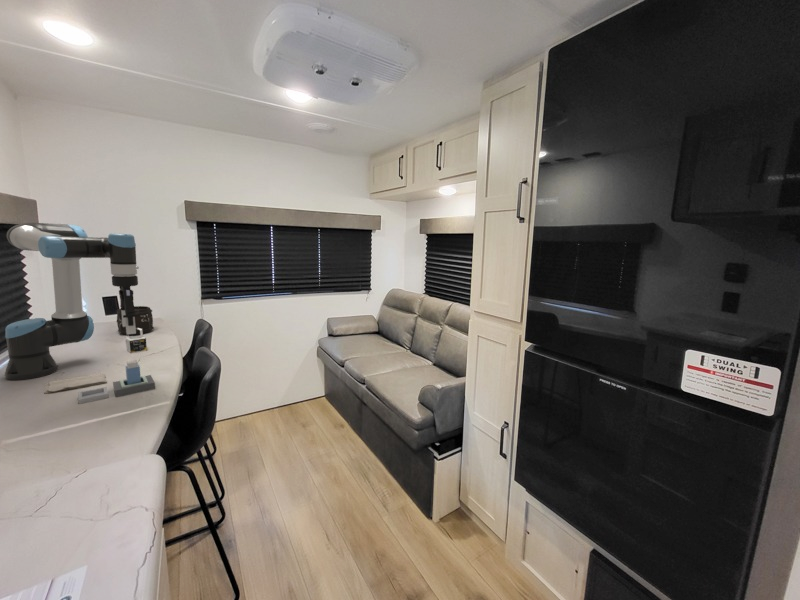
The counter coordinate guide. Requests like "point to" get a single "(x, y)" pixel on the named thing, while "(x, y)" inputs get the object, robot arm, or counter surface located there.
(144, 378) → the port block
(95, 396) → the grey square tray
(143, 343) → the medicine bottle
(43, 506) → the counter surface
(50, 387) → the washcloth
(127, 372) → the plug
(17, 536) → the counter surface
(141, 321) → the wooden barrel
